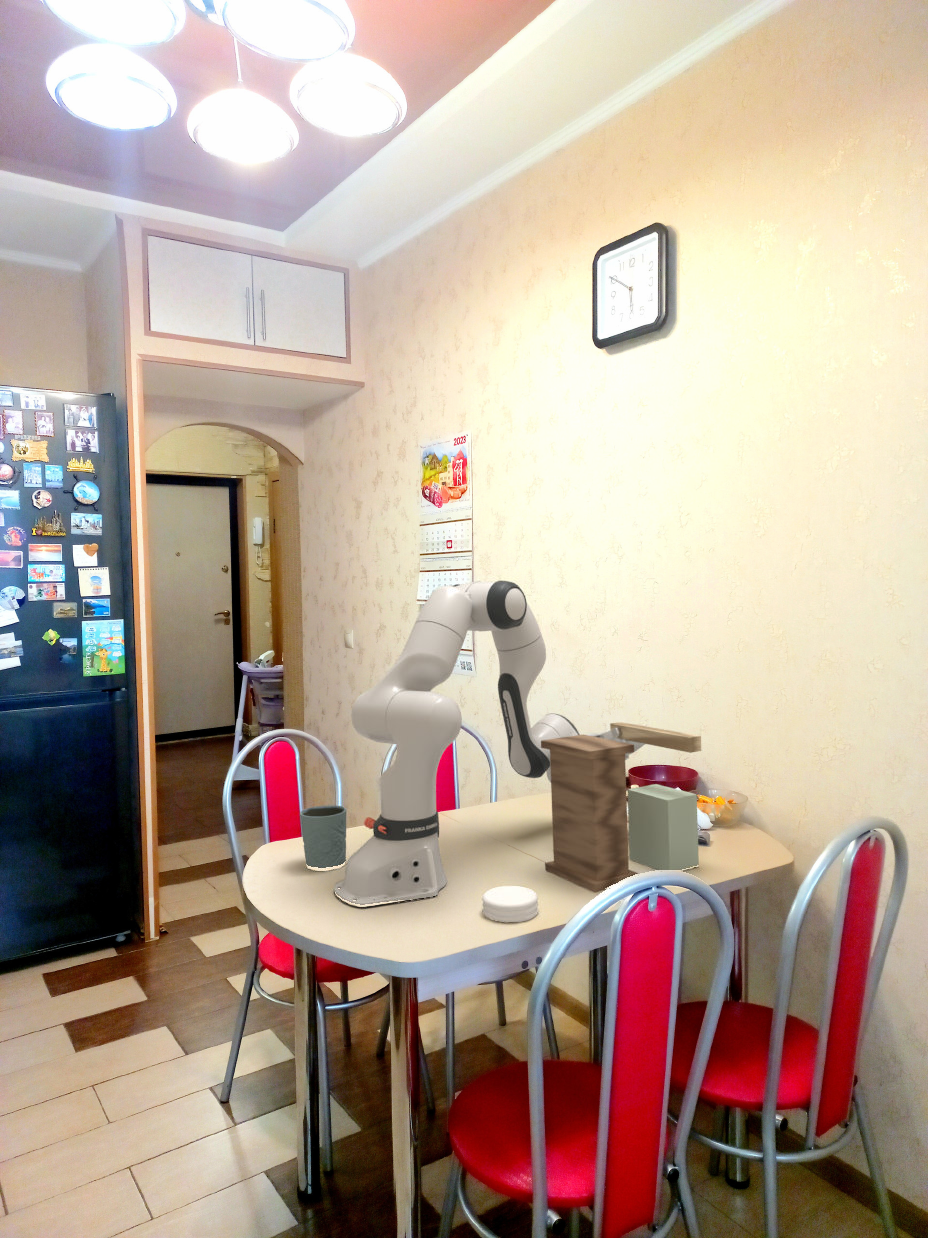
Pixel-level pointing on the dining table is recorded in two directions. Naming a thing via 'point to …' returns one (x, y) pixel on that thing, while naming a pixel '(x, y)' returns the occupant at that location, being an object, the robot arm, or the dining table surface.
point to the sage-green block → (663, 827)
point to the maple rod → (659, 737)
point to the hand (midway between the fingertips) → (626, 729)
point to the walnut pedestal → (589, 810)
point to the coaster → (510, 904)
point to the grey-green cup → (324, 835)
